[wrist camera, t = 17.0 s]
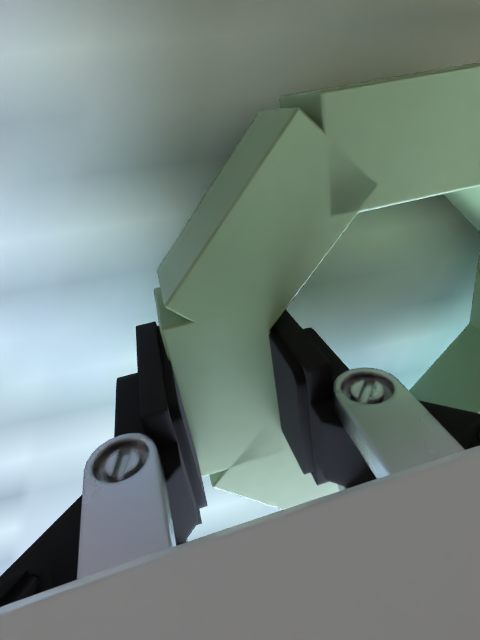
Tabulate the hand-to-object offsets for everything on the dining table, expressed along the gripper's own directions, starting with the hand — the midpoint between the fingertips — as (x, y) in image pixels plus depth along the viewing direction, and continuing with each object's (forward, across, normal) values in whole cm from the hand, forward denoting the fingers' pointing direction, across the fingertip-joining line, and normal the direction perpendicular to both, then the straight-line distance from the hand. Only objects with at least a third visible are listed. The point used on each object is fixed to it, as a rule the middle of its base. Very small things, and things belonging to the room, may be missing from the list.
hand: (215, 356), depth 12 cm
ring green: (0, -5, 0) cm, 5 cm away
